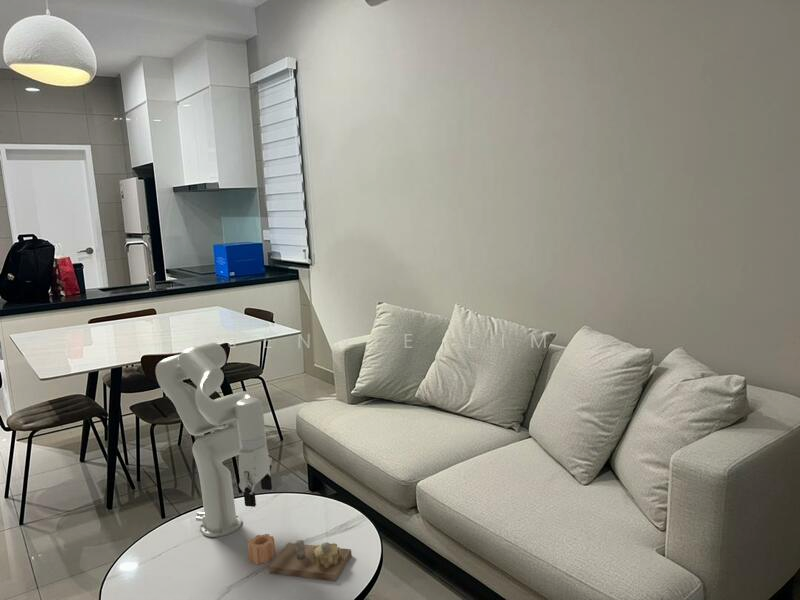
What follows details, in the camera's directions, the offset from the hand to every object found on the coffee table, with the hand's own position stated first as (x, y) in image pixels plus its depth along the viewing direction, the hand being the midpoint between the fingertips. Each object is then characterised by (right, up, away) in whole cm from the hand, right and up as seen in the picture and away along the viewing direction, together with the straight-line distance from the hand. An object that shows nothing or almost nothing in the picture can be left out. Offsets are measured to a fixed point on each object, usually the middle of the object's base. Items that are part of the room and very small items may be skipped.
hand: (259, 497), depth 176 cm
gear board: (+15, -18, -3) cm, 24 cm away
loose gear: (0, -18, +3) cm, 19 cm away
